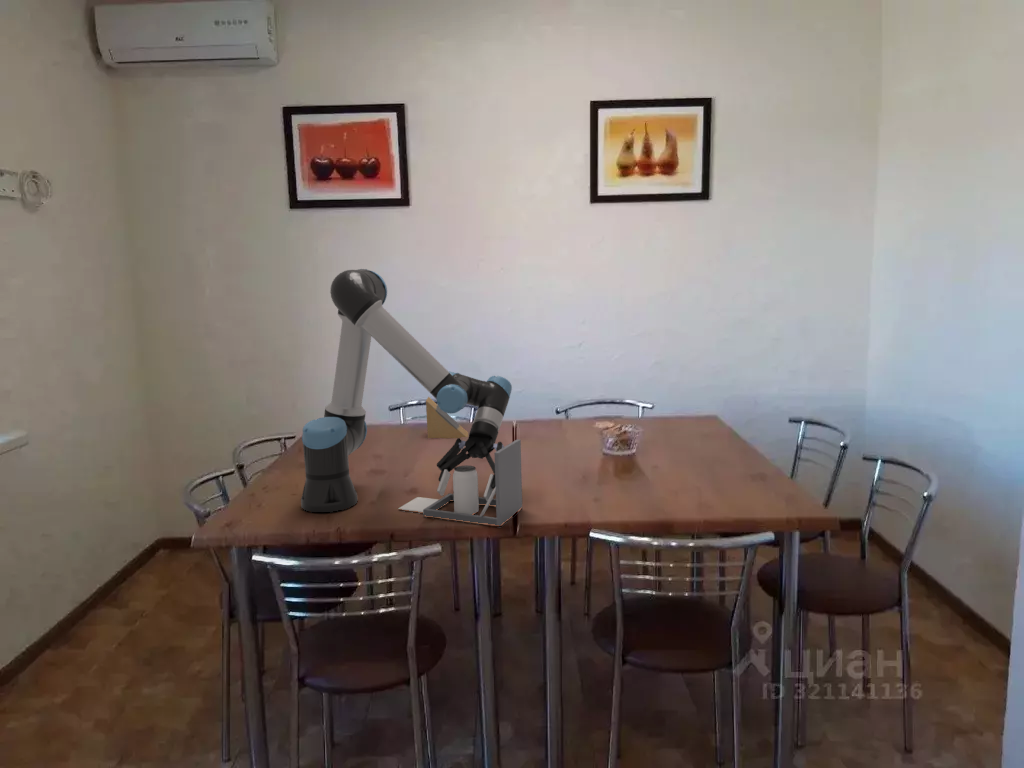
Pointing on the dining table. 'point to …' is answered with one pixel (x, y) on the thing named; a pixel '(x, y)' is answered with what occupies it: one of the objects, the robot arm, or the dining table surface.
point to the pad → (418, 504)
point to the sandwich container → (441, 423)
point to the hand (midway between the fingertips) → (462, 496)
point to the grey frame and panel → (506, 490)
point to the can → (465, 490)
